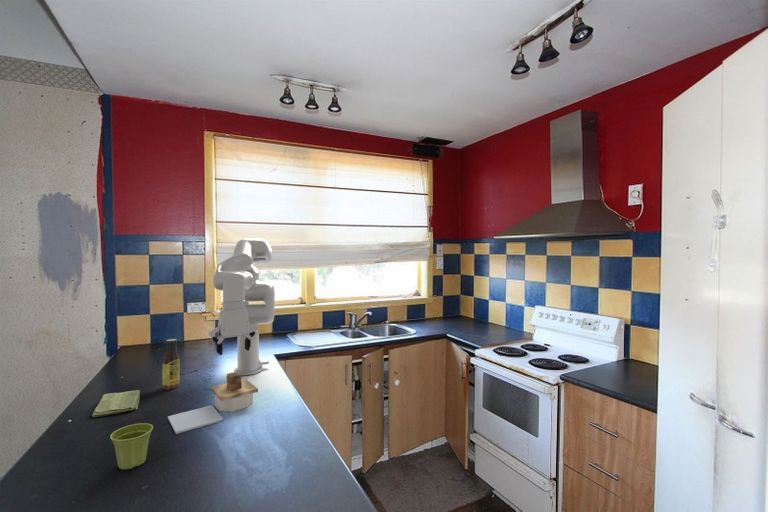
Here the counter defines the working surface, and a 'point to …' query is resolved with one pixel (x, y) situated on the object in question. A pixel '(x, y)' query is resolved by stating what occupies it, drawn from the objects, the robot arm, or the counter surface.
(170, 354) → the sauce bottle
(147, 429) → the plant pot
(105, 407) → the washcloth
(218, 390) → the lid
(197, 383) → the counter surface
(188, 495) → the counter surface
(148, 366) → the counter surface
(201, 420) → the mat
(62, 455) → the counter surface
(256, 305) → the robot arm
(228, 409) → the bowl
